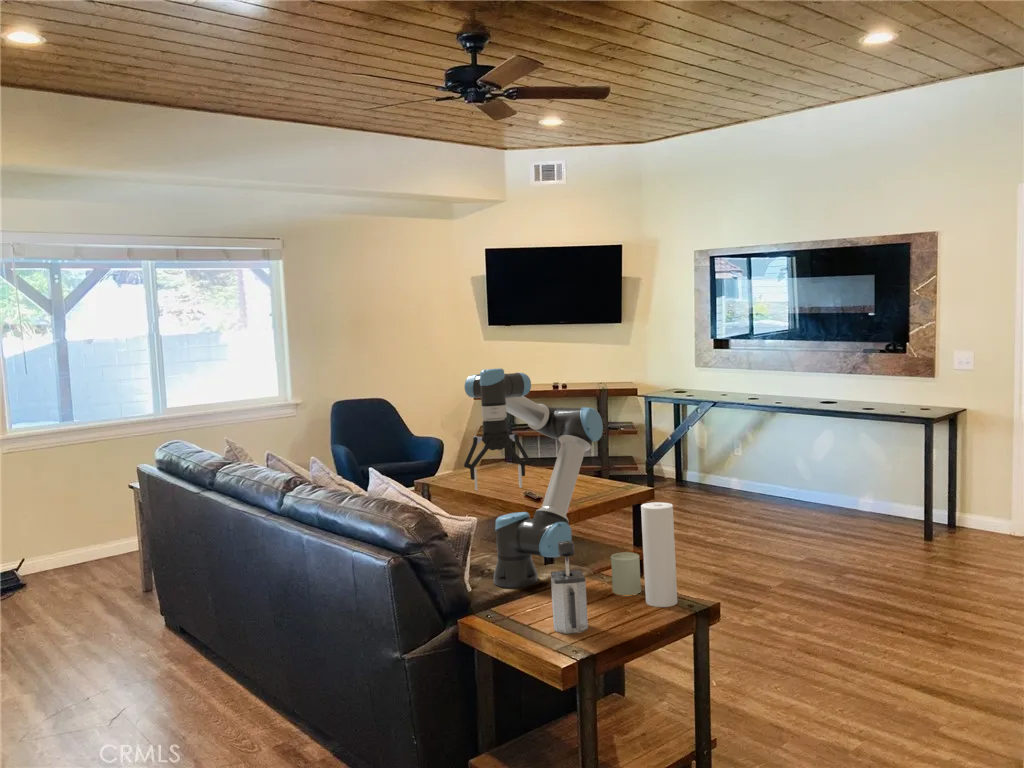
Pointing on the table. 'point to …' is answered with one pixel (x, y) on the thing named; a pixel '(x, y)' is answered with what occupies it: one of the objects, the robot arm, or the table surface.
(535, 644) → the table surface
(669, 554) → the cylinder container
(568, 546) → the plunger
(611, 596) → the table surface
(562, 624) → the press carafe
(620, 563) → the can
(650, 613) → the table surface
